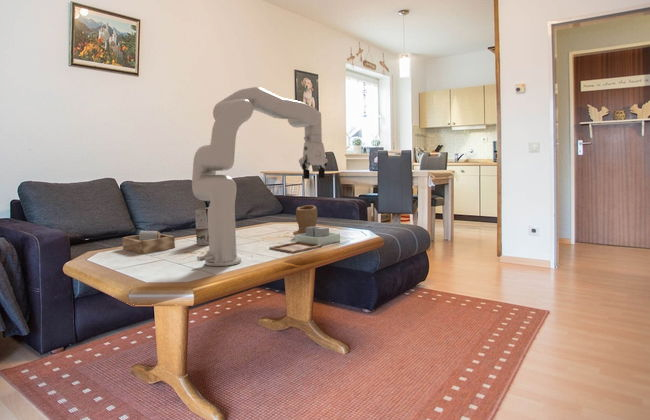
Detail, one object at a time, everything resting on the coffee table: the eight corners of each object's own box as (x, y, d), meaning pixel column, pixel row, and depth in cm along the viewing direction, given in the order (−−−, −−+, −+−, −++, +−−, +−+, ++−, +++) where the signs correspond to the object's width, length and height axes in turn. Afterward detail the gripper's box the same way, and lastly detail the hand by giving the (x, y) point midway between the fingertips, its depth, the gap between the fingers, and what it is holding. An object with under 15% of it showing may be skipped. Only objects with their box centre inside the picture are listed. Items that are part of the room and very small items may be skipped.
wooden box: (140, 253, 178) (139, 241, 177) (122, 248, 189) (121, 237, 189) (175, 247, 189) (175, 236, 188) (156, 243, 201) (156, 232, 200)
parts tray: (293, 255, 168) (292, 251, 168) (269, 251, 178) (269, 247, 177) (321, 248, 180) (321, 245, 180) (298, 245, 189) (297, 241, 189)
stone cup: (299, 239, 204) (298, 207, 203) (290, 235, 215) (289, 205, 213) (328, 236, 210) (328, 205, 209) (319, 233, 221) (318, 203, 219)
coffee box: (210, 245, 194) (208, 208, 192) (196, 245, 194) (194, 209, 192) (216, 241, 203) (214, 206, 201) (202, 241, 203) (200, 207, 201)
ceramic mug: (159, 248, 188) (158, 230, 188) (138, 249, 186) (137, 232, 186) (162, 244, 198) (161, 228, 198) (143, 245, 197) (142, 228, 196)
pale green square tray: (318, 247, 182) (317, 238, 182) (295, 244, 192) (294, 235, 192) (340, 242, 193) (339, 233, 192) (317, 239, 202) (316, 230, 202)
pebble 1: (322, 243, 187) (322, 229, 187) (315, 242, 190) (314, 228, 190) (329, 241, 190) (329, 227, 190) (321, 240, 193) (321, 227, 193)
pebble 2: (313, 241, 191) (312, 228, 190) (306, 240, 194) (305, 227, 193) (320, 240, 194) (319, 226, 194) (312, 239, 197) (312, 226, 197)
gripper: (305, 138, 185) (306, 179, 187) (332, 139, 197) (333, 177, 199) (293, 139, 190) (294, 179, 192) (320, 140, 203) (321, 177, 204)
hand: (314, 178), depth 196 cm, fingers open, 9 cm apart
